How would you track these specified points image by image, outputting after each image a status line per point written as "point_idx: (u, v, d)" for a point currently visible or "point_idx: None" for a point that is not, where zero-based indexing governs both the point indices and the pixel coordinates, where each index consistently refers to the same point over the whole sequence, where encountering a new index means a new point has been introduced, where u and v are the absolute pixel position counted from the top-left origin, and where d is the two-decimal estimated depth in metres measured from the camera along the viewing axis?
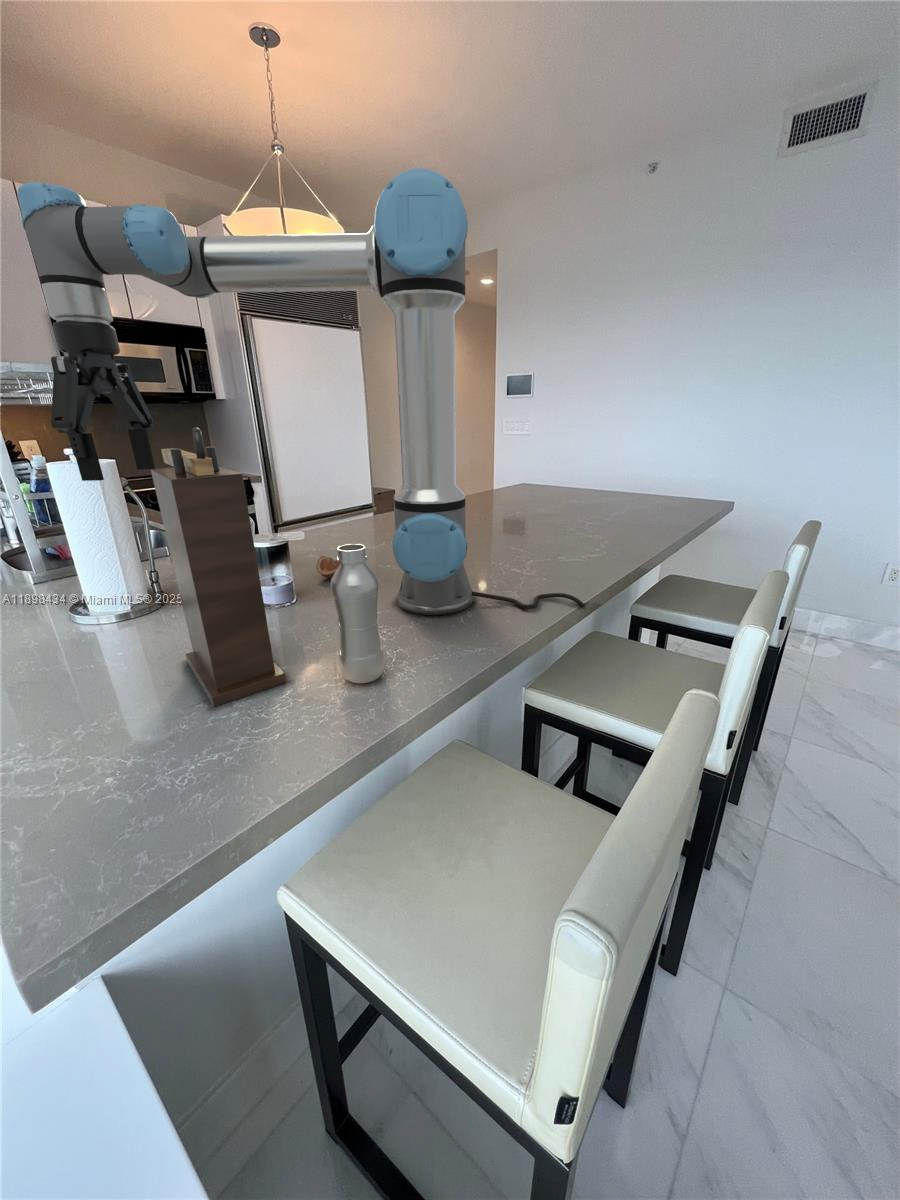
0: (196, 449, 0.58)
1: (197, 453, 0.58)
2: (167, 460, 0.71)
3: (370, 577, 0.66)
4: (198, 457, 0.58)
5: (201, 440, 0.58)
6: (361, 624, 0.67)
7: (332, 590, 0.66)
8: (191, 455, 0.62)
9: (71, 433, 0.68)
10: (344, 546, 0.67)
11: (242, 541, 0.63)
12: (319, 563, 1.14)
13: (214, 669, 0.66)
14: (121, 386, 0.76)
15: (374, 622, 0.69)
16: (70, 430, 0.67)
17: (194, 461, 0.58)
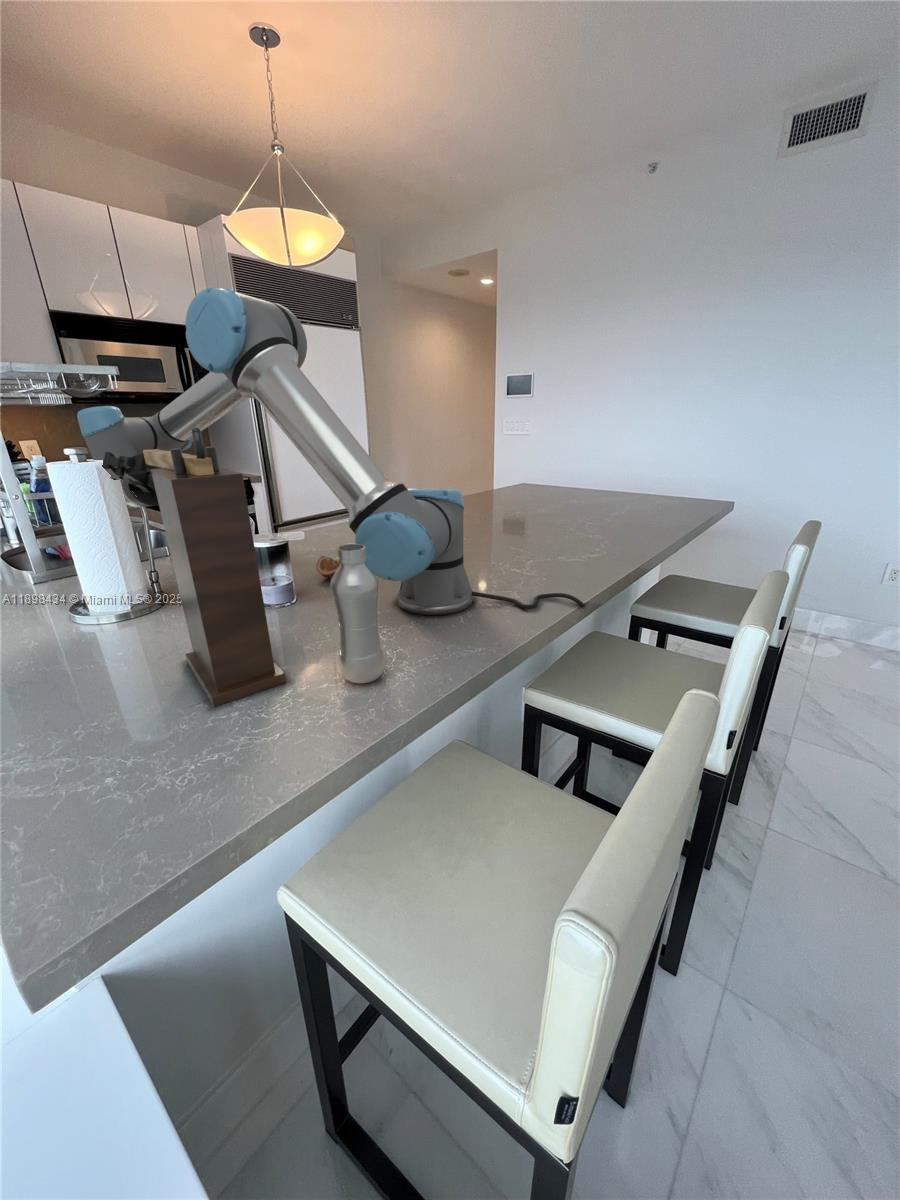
0: (196, 449, 0.58)
1: (197, 453, 0.58)
2: (151, 461, 0.70)
3: (370, 577, 0.66)
4: (198, 457, 0.59)
5: (201, 440, 0.58)
6: (361, 624, 0.67)
7: (332, 590, 0.66)
8: (186, 455, 0.62)
9: None
10: (344, 546, 0.67)
11: (242, 541, 0.63)
12: (319, 563, 1.14)
13: (214, 669, 0.66)
14: (142, 487, 0.86)
15: (374, 622, 0.69)
16: None
17: (194, 461, 0.58)
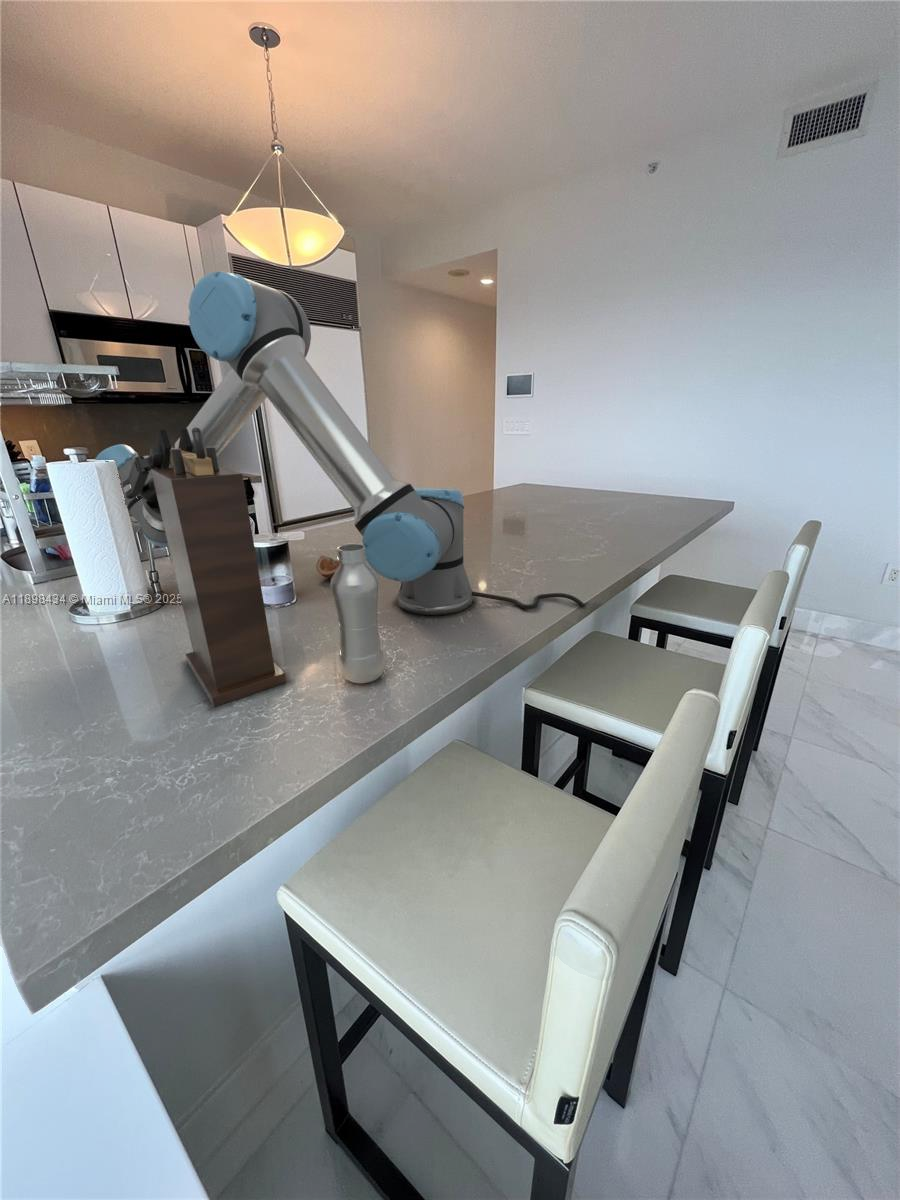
0: (196, 449, 0.58)
1: (197, 453, 0.58)
2: None
3: (370, 577, 0.66)
4: (198, 457, 0.58)
5: (201, 440, 0.58)
6: (361, 624, 0.67)
7: (332, 590, 0.66)
8: (191, 455, 0.62)
9: None
10: (344, 546, 0.67)
11: (242, 541, 0.63)
12: (319, 563, 1.14)
13: (214, 669, 0.66)
14: None
15: (374, 622, 0.69)
16: None
17: (194, 461, 0.58)
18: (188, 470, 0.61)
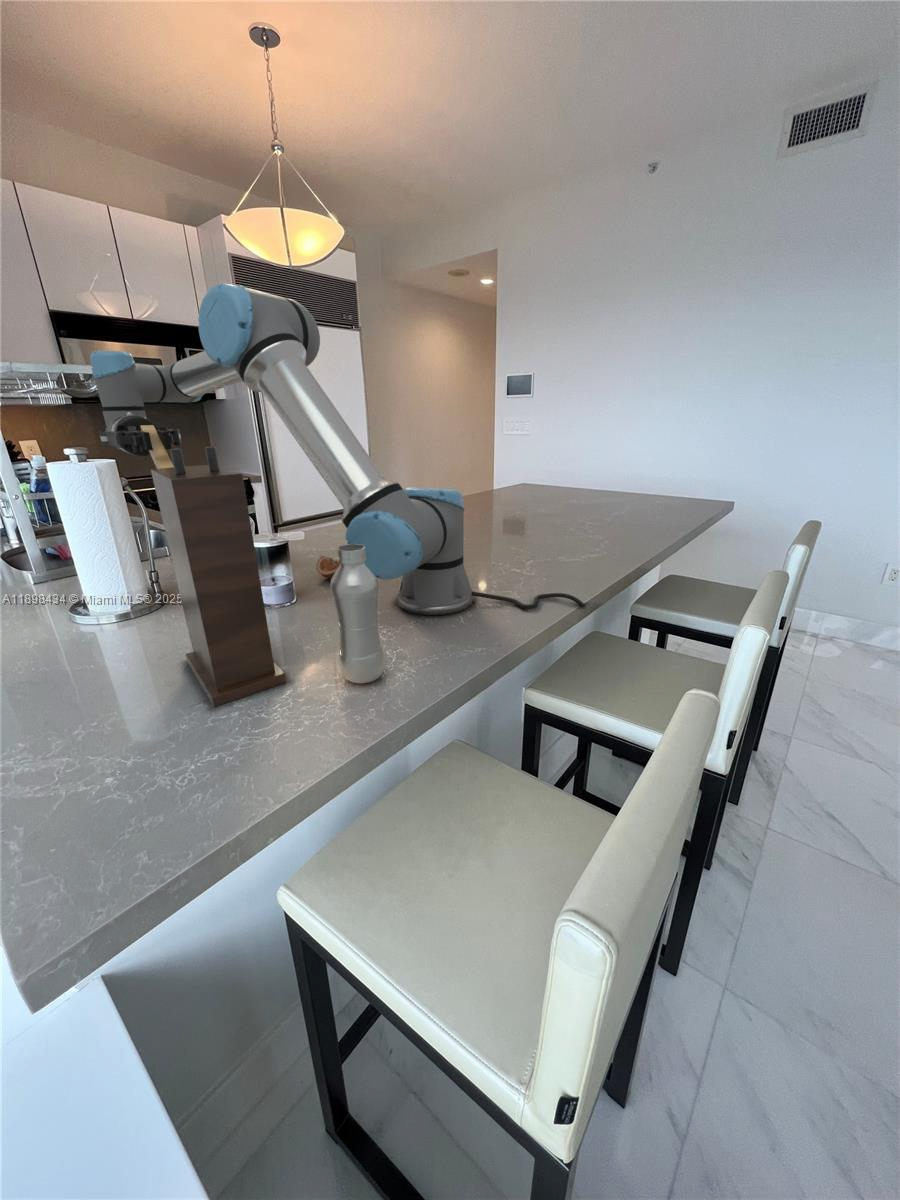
0: None
1: None
2: None
3: (370, 577, 0.66)
4: None
5: None
6: (361, 624, 0.67)
7: (332, 590, 0.66)
8: None
9: None
10: (344, 546, 0.67)
11: (242, 541, 0.63)
12: (319, 563, 1.14)
13: (214, 669, 0.66)
14: None
15: (374, 622, 0.69)
16: (175, 440, 0.87)
17: None
18: None
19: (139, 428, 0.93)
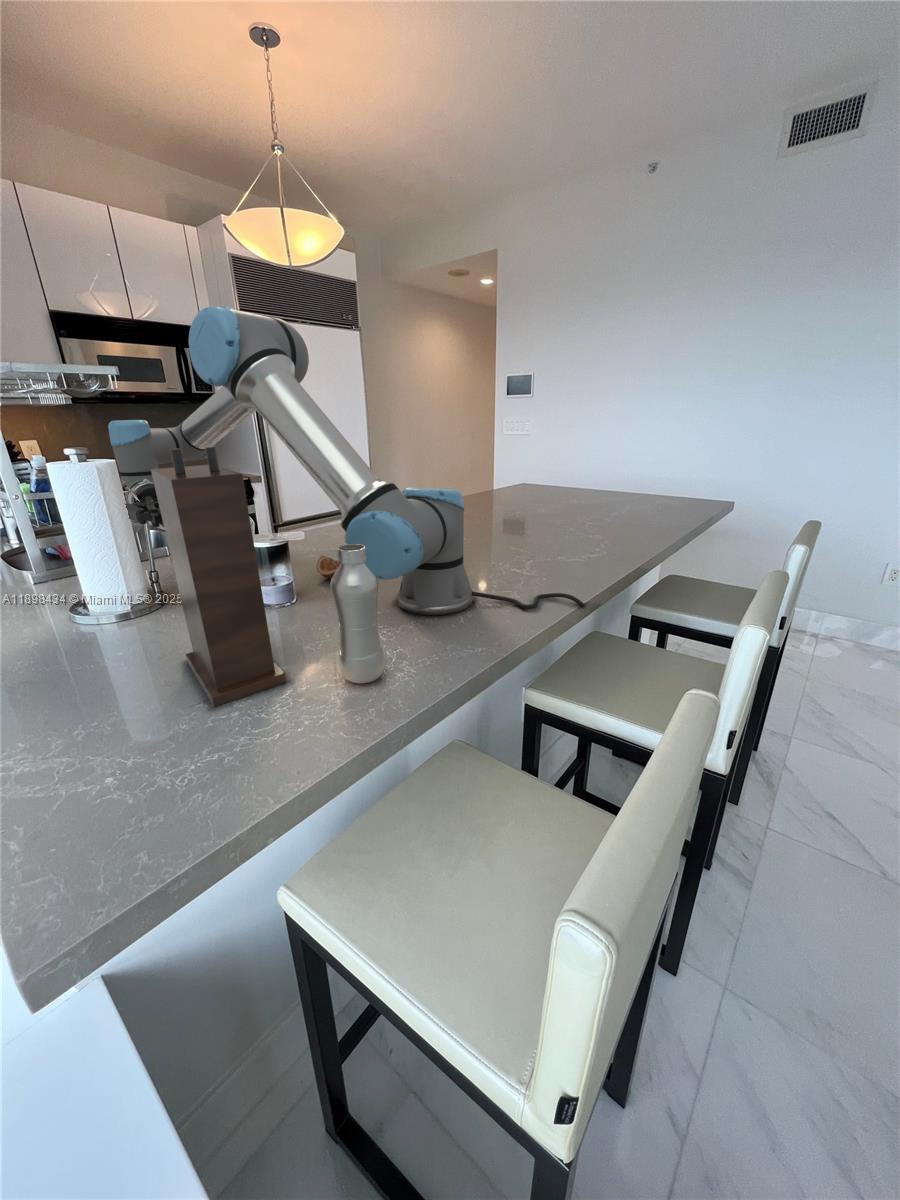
0: None
1: None
2: None
3: (370, 577, 0.66)
4: None
5: None
6: (361, 624, 0.67)
7: (332, 590, 0.66)
8: None
9: None
10: (344, 546, 0.67)
11: (242, 541, 0.63)
12: (319, 563, 1.14)
13: (214, 669, 0.66)
14: None
15: (374, 622, 0.69)
16: None
17: None
18: None
19: (155, 496, 0.98)
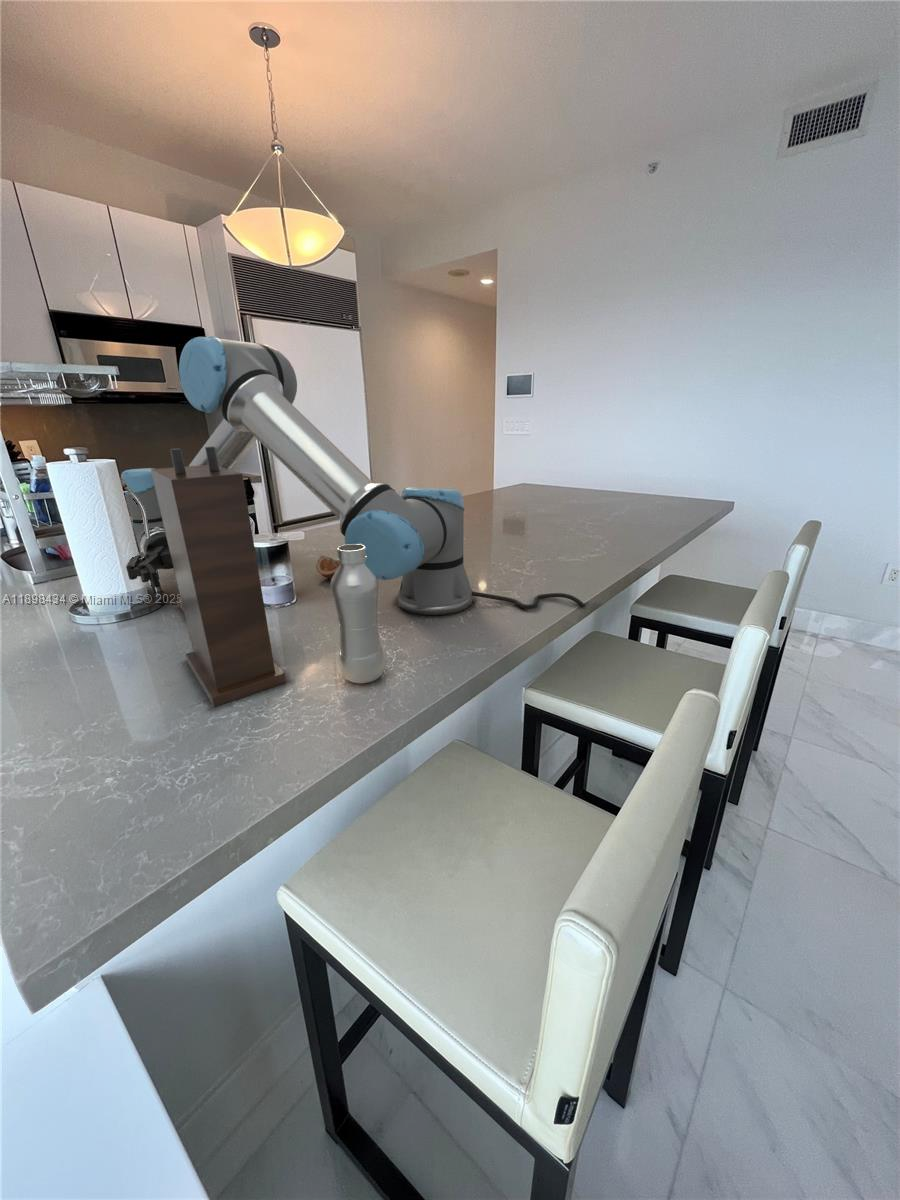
0: None
1: None
2: (183, 610, 0.96)
3: (370, 577, 0.66)
4: None
5: None
6: (361, 624, 0.67)
7: (332, 590, 0.66)
8: None
9: None
10: (344, 546, 0.67)
11: (242, 541, 0.63)
12: (319, 563, 1.14)
13: (214, 669, 0.66)
14: None
15: (374, 622, 0.69)
16: None
17: None
18: None
19: (167, 545, 1.02)
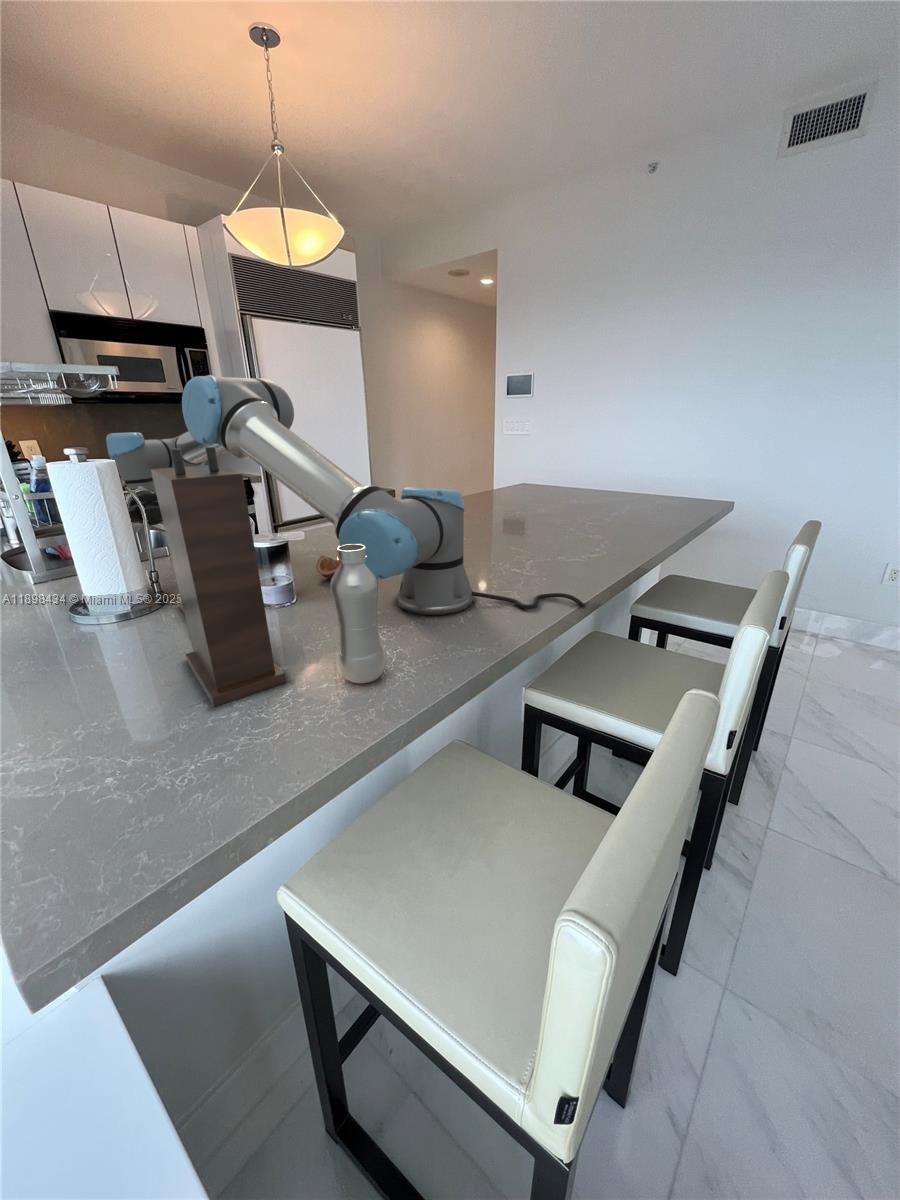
0: None
1: None
2: (183, 610, 0.96)
3: (370, 577, 0.66)
4: None
5: None
6: (361, 624, 0.67)
7: (332, 590, 0.66)
8: None
9: None
10: (344, 546, 0.67)
11: (242, 541, 0.63)
12: (319, 563, 1.14)
13: (214, 669, 0.66)
14: (140, 521, 1.04)
15: (374, 622, 0.69)
16: None
17: None
18: None
19: (149, 502, 1.08)
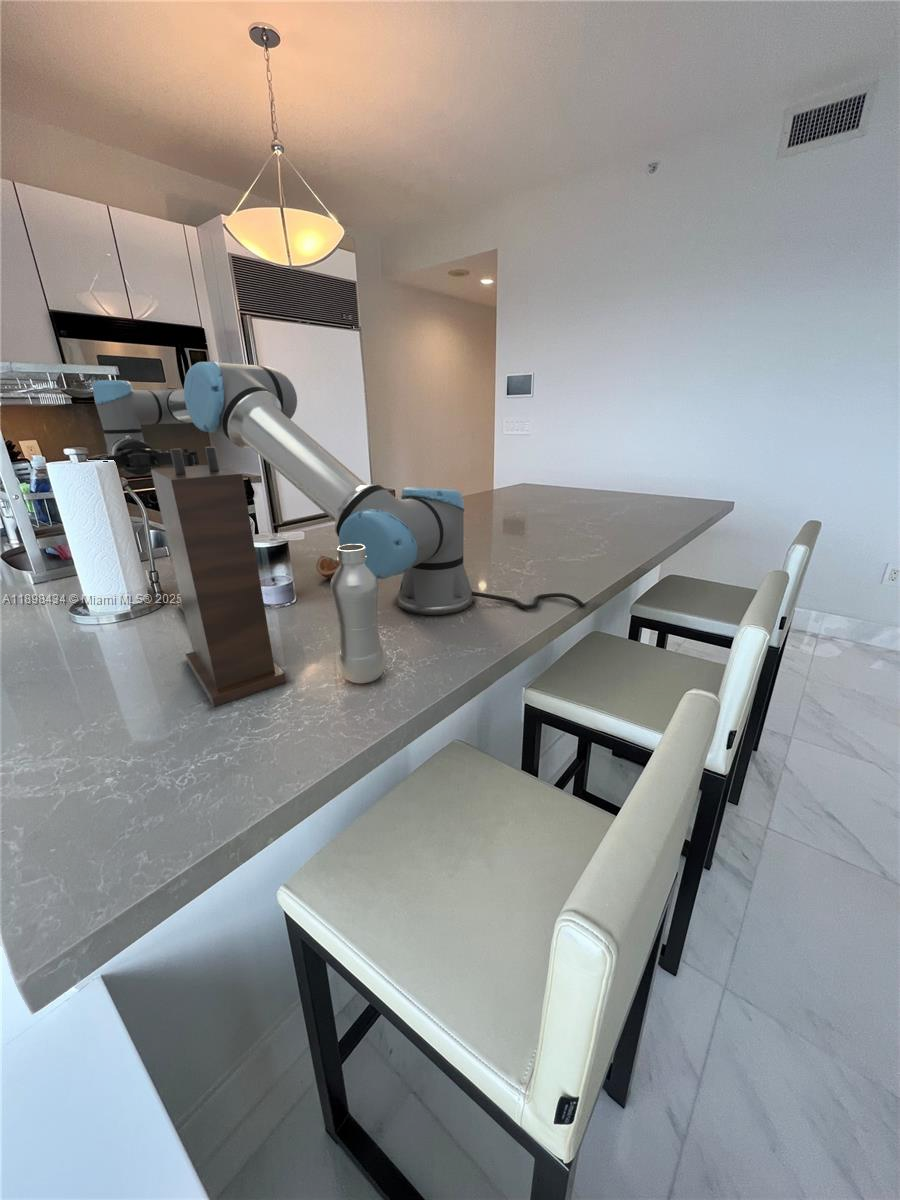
0: None
1: None
2: (183, 610, 0.96)
3: (370, 577, 0.66)
4: None
5: None
6: (361, 624, 0.67)
7: (332, 590, 0.66)
8: None
9: None
10: (344, 546, 0.67)
11: (242, 541, 0.63)
12: (319, 563, 1.14)
13: (214, 669, 0.66)
14: (127, 468, 1.00)
15: (374, 622, 0.69)
16: (195, 460, 1.02)
17: None
18: None
19: (136, 450, 1.04)
